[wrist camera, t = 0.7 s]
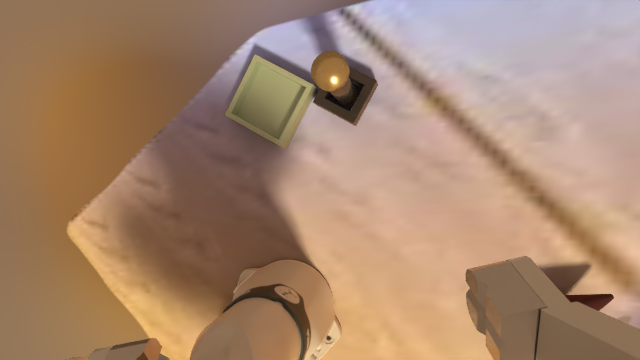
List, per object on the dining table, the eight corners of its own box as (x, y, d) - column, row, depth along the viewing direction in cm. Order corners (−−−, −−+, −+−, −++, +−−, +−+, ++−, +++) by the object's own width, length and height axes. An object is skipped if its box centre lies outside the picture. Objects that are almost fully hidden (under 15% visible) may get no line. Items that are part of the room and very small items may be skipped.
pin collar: (355, 125, 60) (353, 123, 57) (317, 105, 61) (312, 102, 58) (377, 85, 59) (376, 80, 56) (338, 65, 60) (335, 59, 57)
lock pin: (352, 114, 60) (336, 95, 45) (328, 101, 60) (304, 79, 46) (366, 89, 59) (354, 61, 44) (341, 76, 60) (322, 45, 45)
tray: (286, 148, 62) (280, 146, 59) (232, 117, 64) (224, 115, 61) (317, 88, 61) (313, 84, 58) (261, 59, 63) (255, 54, 60)
